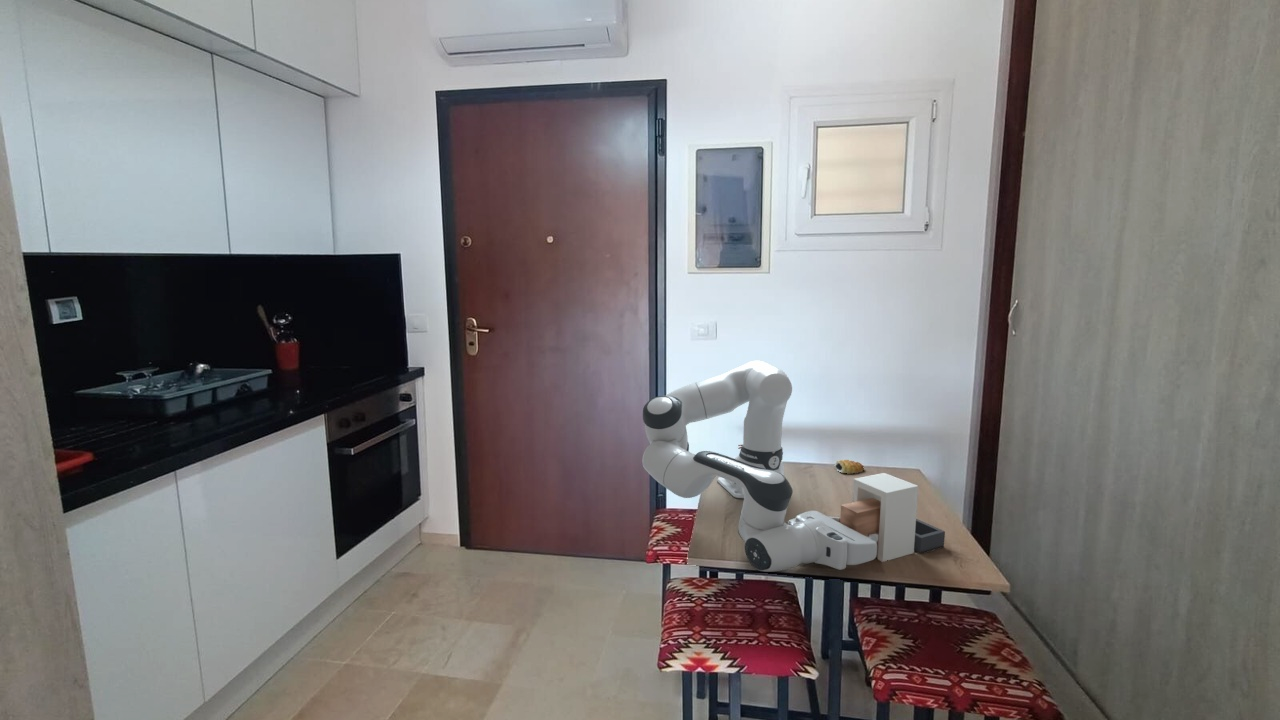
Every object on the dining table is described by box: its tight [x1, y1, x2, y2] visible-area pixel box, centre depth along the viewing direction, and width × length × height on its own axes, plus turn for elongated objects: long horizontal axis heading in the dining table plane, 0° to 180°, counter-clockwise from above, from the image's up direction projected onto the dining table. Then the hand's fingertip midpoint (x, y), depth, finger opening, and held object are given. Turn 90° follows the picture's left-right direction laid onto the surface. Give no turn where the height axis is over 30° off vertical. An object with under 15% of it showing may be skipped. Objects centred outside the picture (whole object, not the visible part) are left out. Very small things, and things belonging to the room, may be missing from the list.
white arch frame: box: [851, 472, 919, 563], centre depth 141 cm, size 10×10×16 cm
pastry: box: [833, 459, 865, 475], centre depth 197 cm, size 9×7×4 cm
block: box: [839, 498, 881, 557], centre depth 138 cm, size 5×10×12 cm, turn 115°
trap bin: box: [914, 518, 946, 555], centre depth 146 cm, size 12×8×4 cm, turn 25°
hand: (860, 528), depth 138 cm, fingers open, 8 cm apart
